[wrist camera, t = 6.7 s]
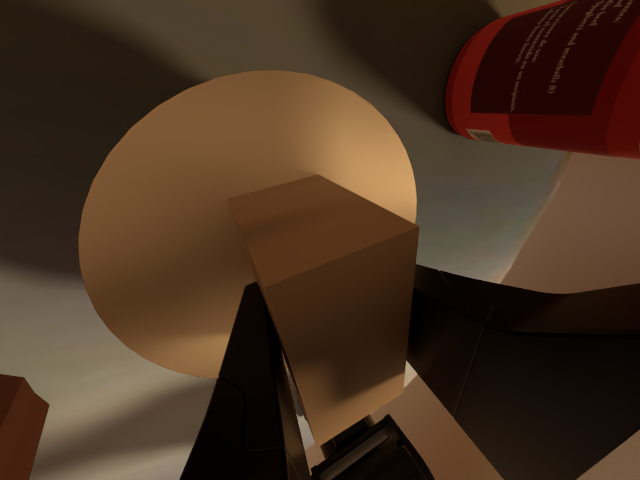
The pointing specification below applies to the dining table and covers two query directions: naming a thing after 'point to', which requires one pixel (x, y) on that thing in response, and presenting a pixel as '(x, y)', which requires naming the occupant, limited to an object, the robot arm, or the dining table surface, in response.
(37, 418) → the muffin
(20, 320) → the dining table surface
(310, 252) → the lid
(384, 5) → the dining table surface
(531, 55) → the canned food
